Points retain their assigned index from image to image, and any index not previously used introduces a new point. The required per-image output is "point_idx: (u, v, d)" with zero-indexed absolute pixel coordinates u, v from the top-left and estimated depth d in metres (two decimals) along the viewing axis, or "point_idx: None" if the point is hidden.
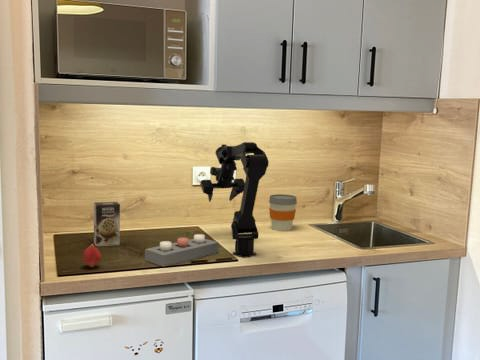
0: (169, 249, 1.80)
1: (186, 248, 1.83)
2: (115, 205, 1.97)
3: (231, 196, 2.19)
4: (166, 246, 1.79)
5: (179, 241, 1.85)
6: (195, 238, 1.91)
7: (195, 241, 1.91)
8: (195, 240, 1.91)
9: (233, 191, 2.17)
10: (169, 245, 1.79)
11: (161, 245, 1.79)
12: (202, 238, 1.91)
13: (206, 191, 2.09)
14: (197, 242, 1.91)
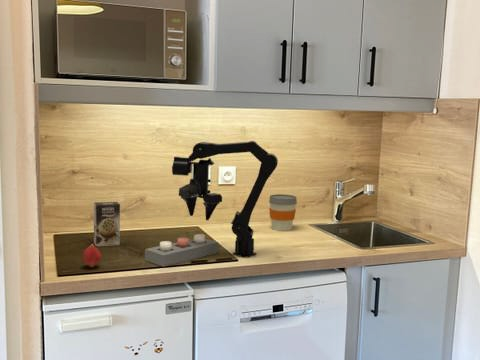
0: (169, 249, 1.80)
1: (186, 248, 1.83)
2: (115, 205, 1.97)
3: (192, 208, 1.95)
4: (166, 246, 1.79)
5: (179, 241, 1.85)
6: (195, 238, 1.91)
7: (195, 241, 1.91)
8: (195, 240, 1.91)
9: (192, 201, 1.95)
10: (169, 245, 1.79)
11: (161, 245, 1.79)
12: (202, 238, 1.91)
13: None
14: (197, 242, 1.91)
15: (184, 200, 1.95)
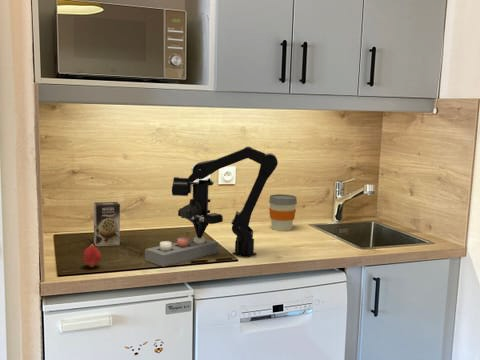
0: (169, 249, 1.80)
1: (186, 248, 1.83)
2: (115, 205, 1.97)
3: None
4: (166, 246, 1.79)
5: (179, 241, 1.85)
6: (195, 240, 1.91)
7: None
8: None
9: None
10: (169, 245, 1.79)
11: (161, 245, 1.79)
12: (202, 240, 1.91)
13: None
14: None
15: None
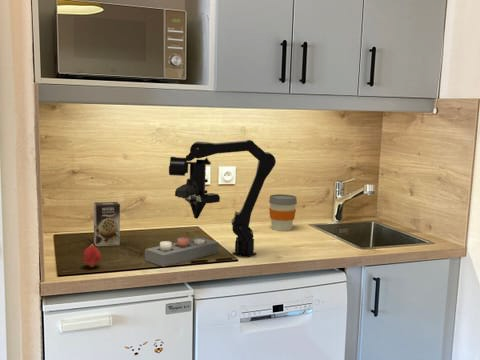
0: (169, 249, 1.80)
1: (186, 248, 1.83)
2: (115, 205, 1.97)
3: None
4: (166, 246, 1.79)
5: (179, 241, 1.85)
6: None
7: None
8: None
9: None
10: (169, 245, 1.79)
11: (161, 245, 1.79)
12: None
13: None
14: None
15: (188, 202, 1.89)
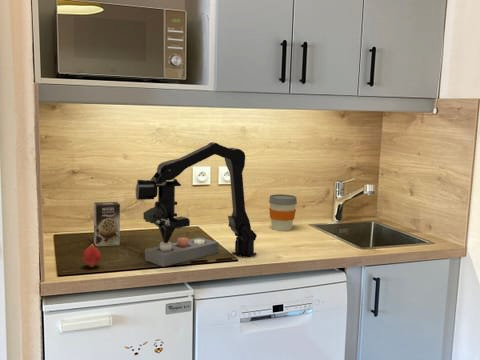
0: (169, 249, 1.80)
1: (186, 248, 1.83)
2: (115, 205, 1.97)
3: None
4: (166, 246, 1.79)
5: (179, 241, 1.85)
6: None
7: None
8: None
9: None
10: (169, 245, 1.79)
11: (161, 245, 1.79)
12: None
13: None
14: None
15: None
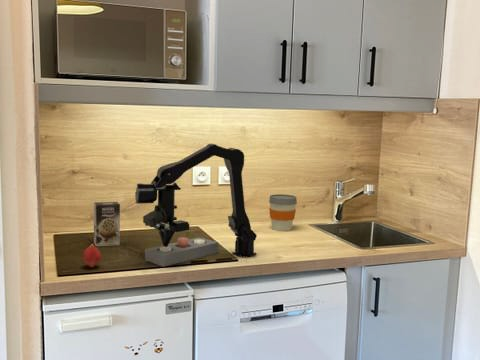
0: None
1: (186, 248, 1.83)
2: (115, 205, 1.97)
3: None
4: (166, 251, 1.79)
5: (179, 241, 1.85)
6: None
7: None
8: None
9: None
10: (169, 250, 1.80)
11: (161, 250, 1.79)
12: None
13: None
14: None
15: None
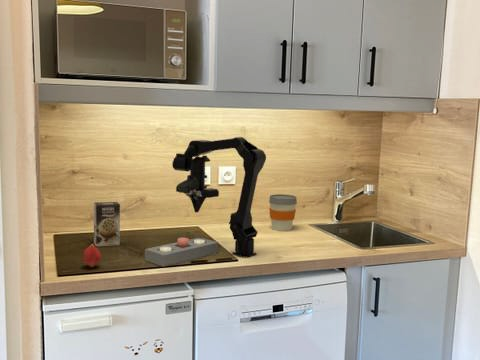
0: None
1: (186, 248, 1.83)
2: (115, 205, 1.97)
3: None
4: (166, 251, 1.79)
5: (179, 241, 1.85)
6: None
7: None
8: None
9: None
10: (169, 250, 1.80)
11: (161, 250, 1.79)
12: None
13: None
14: None
15: (189, 197, 2.01)
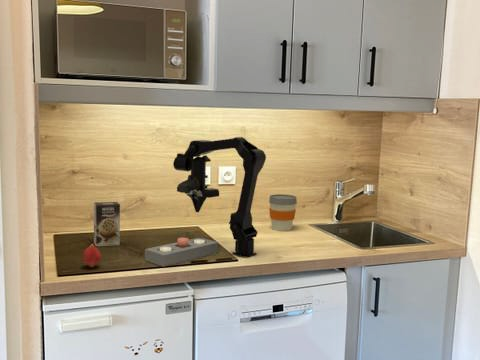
0: None
1: (186, 248, 1.83)
2: (115, 205, 1.97)
3: None
4: (166, 251, 1.79)
5: (179, 241, 1.85)
6: None
7: None
8: None
9: None
10: (169, 250, 1.80)
11: (161, 250, 1.79)
12: None
13: None
14: None
15: (190, 197, 2.02)
